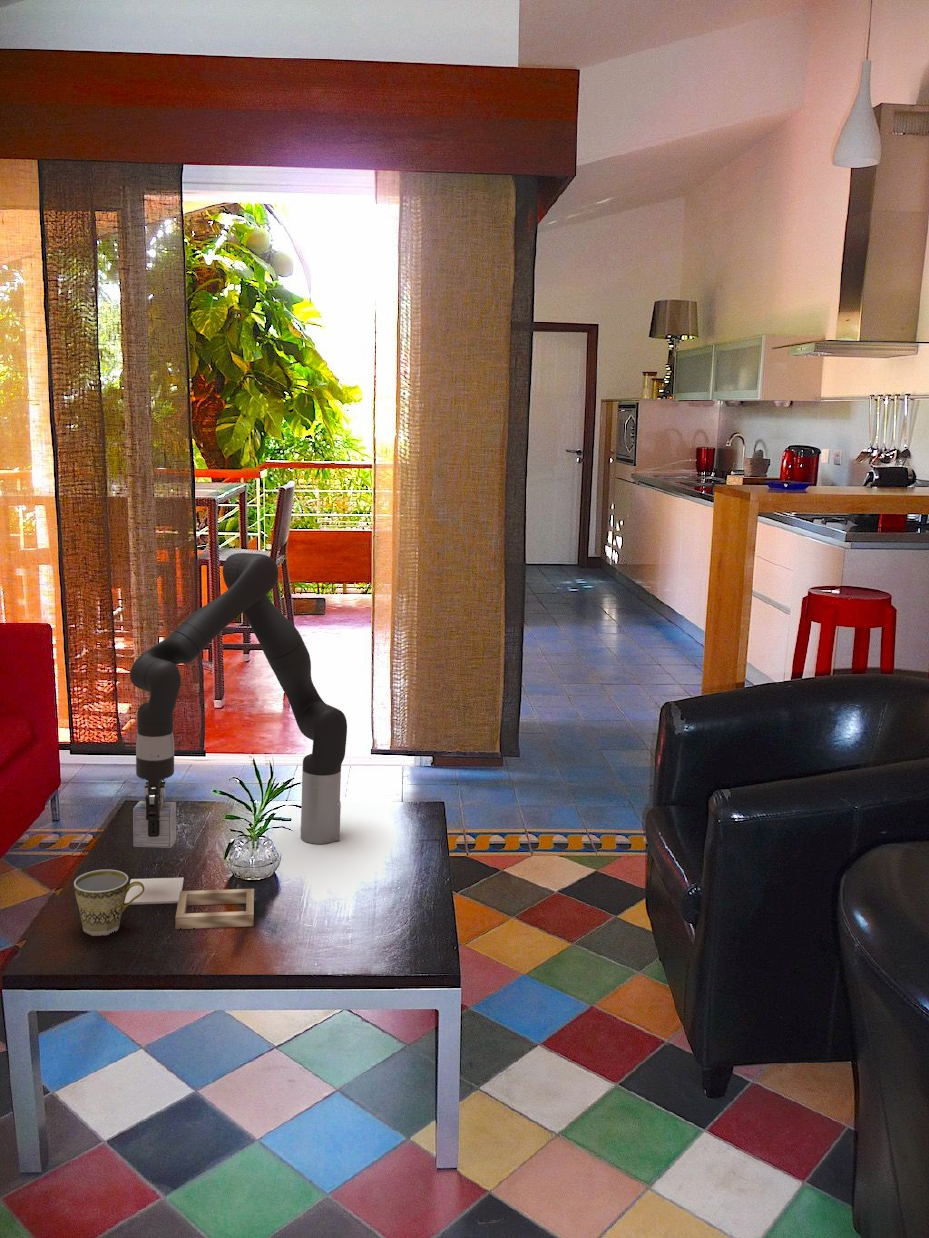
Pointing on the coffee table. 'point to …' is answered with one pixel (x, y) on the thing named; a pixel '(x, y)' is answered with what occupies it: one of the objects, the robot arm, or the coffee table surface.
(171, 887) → the pad
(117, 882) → the ceramic cup
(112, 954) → the coffee table surface
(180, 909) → the rectangular wooden frame
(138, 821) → the medicine box
